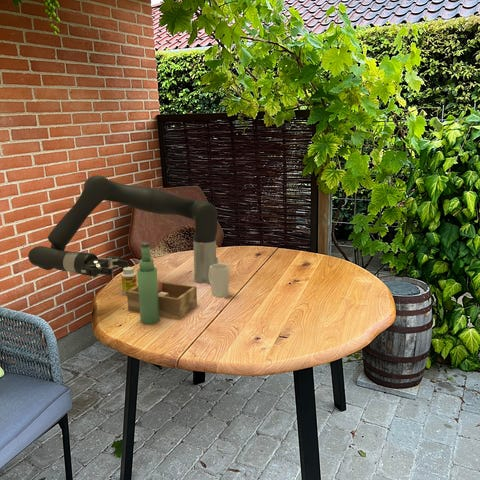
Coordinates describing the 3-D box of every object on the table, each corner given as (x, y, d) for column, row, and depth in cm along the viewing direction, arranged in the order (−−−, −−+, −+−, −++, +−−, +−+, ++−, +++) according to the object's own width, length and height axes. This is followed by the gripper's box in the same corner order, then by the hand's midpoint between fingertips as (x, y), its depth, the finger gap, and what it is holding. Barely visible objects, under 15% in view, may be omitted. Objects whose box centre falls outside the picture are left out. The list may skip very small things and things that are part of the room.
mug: (232, 296, 167) (232, 266, 164) (218, 301, 163) (218, 270, 160) (215, 289, 174) (215, 260, 171) (202, 293, 170) (201, 264, 167)
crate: (149, 299, 164) (147, 277, 162) (197, 307, 157) (196, 284, 154) (128, 313, 152) (126, 288, 150) (179, 322, 145) (178, 296, 143)
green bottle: (156, 315, 148) (151, 239, 141) (162, 323, 143) (157, 244, 136) (138, 319, 146) (132, 241, 138) (143, 327, 140) (138, 246, 133)
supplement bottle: (125, 296, 167) (123, 271, 164) (120, 292, 171) (118, 267, 169) (139, 293, 170) (137, 268, 167) (134, 289, 174) (132, 265, 172)
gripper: (64, 258, 143) (105, 263, 137) (93, 247, 156) (132, 251, 150) (67, 279, 145) (107, 286, 139) (95, 267, 158) (133, 272, 152)
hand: (120, 268), depth 145 cm, fingers open, 8 cm apart
